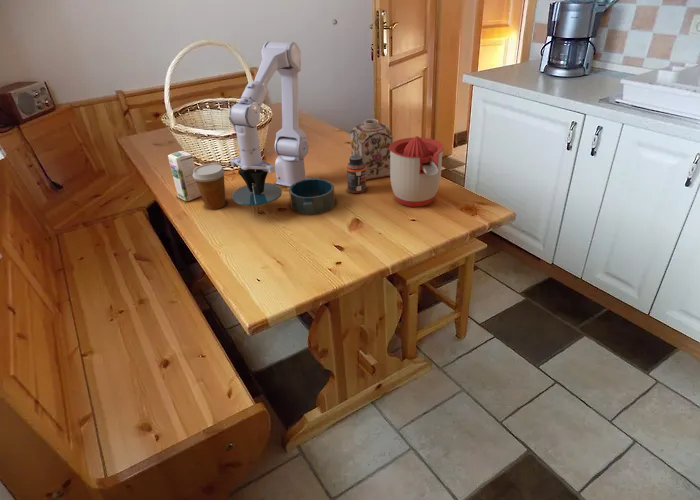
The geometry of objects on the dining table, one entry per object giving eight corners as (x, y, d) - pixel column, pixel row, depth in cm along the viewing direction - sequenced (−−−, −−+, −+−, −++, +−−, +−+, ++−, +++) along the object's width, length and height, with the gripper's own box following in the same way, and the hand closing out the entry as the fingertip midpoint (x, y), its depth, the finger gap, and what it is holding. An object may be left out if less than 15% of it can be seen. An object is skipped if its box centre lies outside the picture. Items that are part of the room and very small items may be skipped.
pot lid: (226, 208, 135) (223, 193, 132) (239, 186, 147) (237, 172, 144) (277, 207, 134) (275, 192, 131) (286, 185, 146) (284, 171, 143)
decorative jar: (381, 163, 171) (381, 113, 161) (394, 175, 161) (394, 123, 152) (350, 168, 168) (348, 118, 158) (361, 181, 158) (359, 128, 149)
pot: (285, 219, 139) (283, 202, 136) (296, 190, 155) (294, 175, 152) (331, 218, 138) (330, 202, 135) (337, 190, 154) (336, 174, 151)
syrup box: (177, 197, 154) (166, 155, 146) (193, 191, 158) (183, 149, 150) (186, 202, 151) (175, 159, 143) (202, 195, 154) (192, 153, 147)
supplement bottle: (364, 194, 150) (363, 161, 144) (346, 193, 151) (344, 160, 145) (367, 186, 155) (366, 153, 149) (349, 185, 156) (348, 153, 150)
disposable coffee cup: (193, 209, 146) (184, 173, 140) (212, 196, 154) (204, 161, 147) (219, 213, 143) (211, 177, 137) (236, 200, 151) (230, 164, 144)
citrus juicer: (407, 218, 136) (409, 152, 125) (380, 194, 149) (379, 133, 139) (453, 206, 141) (459, 141, 130) (423, 184, 154) (426, 124, 144)
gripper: (220, 148, 132) (228, 192, 140) (261, 156, 126) (268, 201, 134) (236, 140, 137) (244, 183, 145) (277, 147, 131) (282, 191, 139)
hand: (256, 191), depth 140 cm, fingers closed on pot lid, 2 cm apart
